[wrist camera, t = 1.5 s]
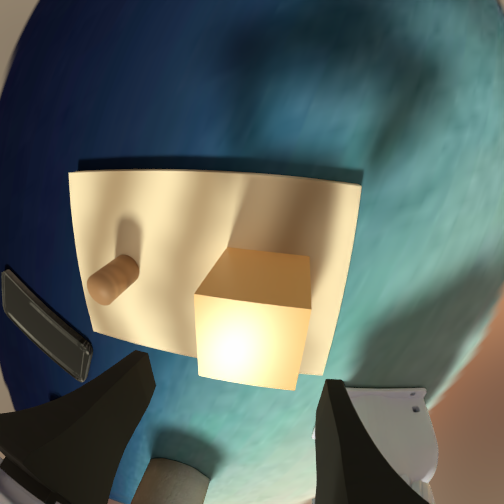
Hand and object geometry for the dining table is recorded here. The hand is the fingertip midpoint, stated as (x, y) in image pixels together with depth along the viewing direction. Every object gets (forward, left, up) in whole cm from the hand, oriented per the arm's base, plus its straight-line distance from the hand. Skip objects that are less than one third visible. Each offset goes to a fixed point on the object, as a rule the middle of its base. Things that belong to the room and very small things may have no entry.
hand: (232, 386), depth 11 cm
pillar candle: (+10, +35, -10) cm, 38 cm away
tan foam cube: (0, 0, -9) cm, 9 cm away
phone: (+25, +10, -10) cm, 29 cm away
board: (+5, 0, -10) cm, 11 cm away
